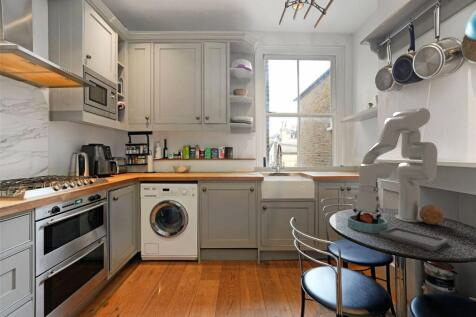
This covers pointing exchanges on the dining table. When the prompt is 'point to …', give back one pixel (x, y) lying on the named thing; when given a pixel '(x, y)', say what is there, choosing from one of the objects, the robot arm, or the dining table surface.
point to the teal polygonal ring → (367, 225)
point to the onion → (431, 214)
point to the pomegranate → (366, 218)
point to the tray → (414, 238)
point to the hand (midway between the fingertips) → (366, 224)
